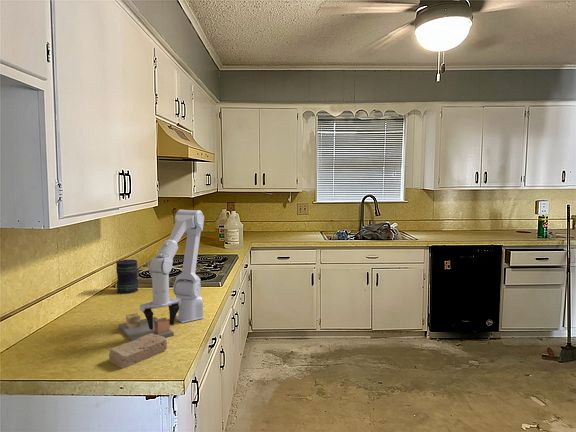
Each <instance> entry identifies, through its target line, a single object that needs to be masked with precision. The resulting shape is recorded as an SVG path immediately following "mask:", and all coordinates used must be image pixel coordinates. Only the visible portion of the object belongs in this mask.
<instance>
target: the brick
mask: <svg viewBox="0 0 576 432" xmlns="http://www.w3.org/2000/svg"><path fill="white" fill-rule="evenodd" d="M167 341H168V339H167V337H166V338H165V337H163V336H159V335H155V334H152V333H151V334H148V335H145V336H143V337H140V338H139V339H137V340H134V341H127V342H124V343H122V344H120V345H118V346H115V347H112V348H110V349H109V354H108V361H109V362H110V363H111V364H113V365H115V366H116V367H118V368H120V369H126V368H128V367H131V366H133V365H135V364H137V363H141V362H142V361H145V360H148V359H149V358H152V357H154V356H157V355H160V354H161V353H162V352H164V351H166V350H167V348H168V347H167V345H168V342H167Z"/></svg>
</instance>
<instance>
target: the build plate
mask: <svg viewBox="0 0 576 432" xmlns="http://www.w3.org/2000/svg"><path fill="white" fill-rule="evenodd" d="M156 319H158V317H156V316H153V329H152V330H151V329H149V325H148V321H147V319H146V318H143V319H142V318H141V319H140V326H139V327H135V328H130V329H129V328H128V326H127V325H126V322H123V323H119V324H118V328H119V329H120V330H121V331H122V332H123V333H124V335H125V336H126V338H128V339H129V342H131V341H134V340H137V339H139V338H140V337H143V336H145V335H148V334H151V333H152V334H155V335H159V336H163V337H165V338H166V339H167V338H170V337H174V335H175V334H174V333H175V332H173V331H172V330H171V329H170V328H169V331H168V332H164V333H159V334H158V333H157V332H156V331H155V330H154V320H156Z"/></svg>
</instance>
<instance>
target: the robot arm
mask: <svg viewBox="0 0 576 432" xmlns="http://www.w3.org/2000/svg"><path fill="white" fill-rule="evenodd" d="M174 221H175V222H174V226H173V228H172V231H171V233H170V236H169V238H168V239H166V240H164V241H163V242H162V245H160V248H159V250H158V252H157V254H156V256H154V257H153V258H151V259H150V260H149V262H148V266H147V268H148V271H149V273H150V277H151V280H152V281H151V286H152V289H151V290H152V301H149V302H145V303H143V304H139V311H141V312H143V314H144V316H145V319H147V321H148V325H149V329H151V330H152V329H153V317H154V312H153V310H154V309H159V308H165V307H168V311H169V312H168V313H169V325H171V326H174V324H175V321H176V320H177V321H178V322H180V323H181V324H184V323H188V322H192V321H193V322H194V321H197V320H203V319H204V301H203V298H202V296H201V294H200V293H201V291H202V286H201V278H200V277H199V276H198V275H197V274H196V271H197V262H198V261H197V260H198V255H199V246H200V239H201V233H202V232H203V229H204V224H205V223H204V221H205V216H204V214H203V212H202V210H200V209H197V210H193V209H192V210H190V209H178V210H177V212H176V213H175V215H174ZM185 233H186V234H187V235H186V242H185V248H184V256H183V263H182V271H181V273H179V274H178V275H177V276H176V277H175V281H174V283H173V285H172V286H173V287H172V291H173V295H175V297H176V298H170V276H169V275H170V272H171V271H172V268H173V263H174V257H175V256H176V253H177V251H178V249H179V246H178V242H180V240H181V238H182V237H183V235H184V234H185ZM175 319H176V320H175Z"/></svg>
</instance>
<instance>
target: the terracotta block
mask: <svg viewBox="0 0 576 432" xmlns="http://www.w3.org/2000/svg"><path fill="white" fill-rule="evenodd" d="M169 329H170V320H169V319H167V318H166V317H162V318H157V319H156V320H154V330H155V331H156V332H157V333H158V334H159V333H164V332H168V331H169Z"/></svg>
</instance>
